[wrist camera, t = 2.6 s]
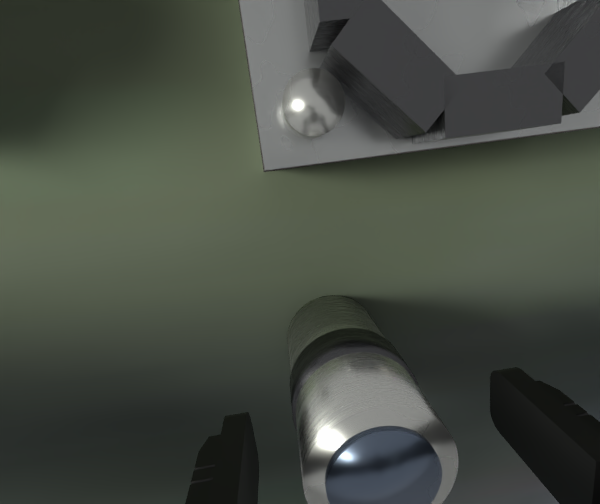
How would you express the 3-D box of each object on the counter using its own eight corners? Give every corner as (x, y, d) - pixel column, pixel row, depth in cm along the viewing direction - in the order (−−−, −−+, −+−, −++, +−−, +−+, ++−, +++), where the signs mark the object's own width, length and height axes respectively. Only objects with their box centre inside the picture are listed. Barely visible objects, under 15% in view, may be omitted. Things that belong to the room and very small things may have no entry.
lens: (292, 383, 18) (310, 562, 10) (279, 301, 16) (289, 426, 8) (378, 369, 18) (467, 531, 10) (372, 287, 17) (466, 395, 9)
